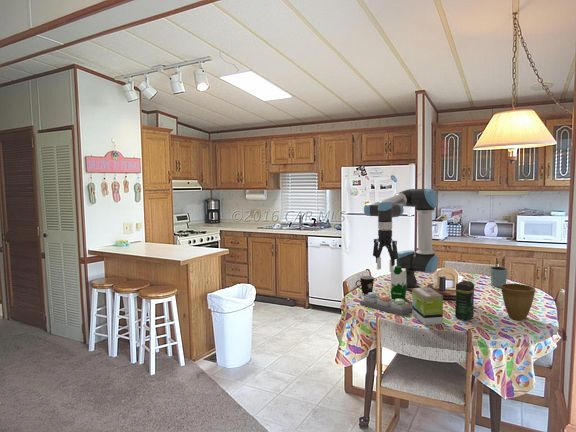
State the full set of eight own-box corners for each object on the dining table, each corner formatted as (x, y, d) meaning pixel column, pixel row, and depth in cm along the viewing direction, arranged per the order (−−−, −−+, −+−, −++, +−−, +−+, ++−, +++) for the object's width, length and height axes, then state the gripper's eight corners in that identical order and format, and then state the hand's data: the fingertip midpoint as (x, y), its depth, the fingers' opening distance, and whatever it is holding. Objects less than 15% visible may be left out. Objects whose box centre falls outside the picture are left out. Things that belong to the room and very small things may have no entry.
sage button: (405, 304, 213) (405, 299, 213) (400, 306, 210) (400, 301, 210) (398, 302, 217) (398, 298, 217) (393, 304, 214) (393, 300, 214)
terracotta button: (391, 300, 220) (391, 296, 220) (386, 302, 217) (386, 298, 217) (384, 299, 224) (384, 294, 223) (379, 301, 221) (379, 296, 220)
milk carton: (389, 300, 233) (389, 267, 232) (392, 296, 242) (392, 263, 240) (405, 301, 230) (405, 268, 228) (407, 297, 238) (407, 264, 236)
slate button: (378, 297, 227) (378, 293, 227) (373, 299, 224) (373, 295, 223) (371, 296, 230) (371, 291, 230) (366, 297, 227) (366, 293, 227)
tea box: (411, 315, 207) (411, 287, 206) (430, 314, 208) (430, 286, 207) (423, 325, 192) (423, 295, 191) (443, 324, 193) (443, 294, 192)
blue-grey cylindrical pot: (507, 285, 259) (508, 267, 258) (506, 289, 250) (507, 270, 249) (490, 283, 264) (490, 265, 263) (488, 287, 256) (489, 268, 255)
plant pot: (540, 318, 197) (541, 287, 196) (524, 325, 189) (525, 292, 188) (509, 311, 210) (510, 281, 208) (494, 316, 202) (495, 286, 200)
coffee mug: (373, 290, 254) (373, 275, 253) (374, 294, 245) (374, 279, 244) (355, 290, 255) (354, 275, 254) (355, 294, 246) (355, 279, 246)
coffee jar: (469, 321, 196) (469, 285, 194) (453, 318, 201) (453, 282, 200) (475, 316, 203) (476, 281, 201) (460, 313, 208) (460, 278, 207)
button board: (412, 311, 213) (412, 302, 213) (402, 315, 207) (402, 307, 206) (370, 300, 234) (370, 292, 234) (359, 304, 228) (359, 296, 227)
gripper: (365, 228, 222) (366, 268, 224) (397, 231, 207) (397, 274, 209) (373, 227, 227) (374, 266, 229) (405, 230, 212) (405, 271, 214)
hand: (385, 270), depth 219 cm, fingers open, 8 cm apart
